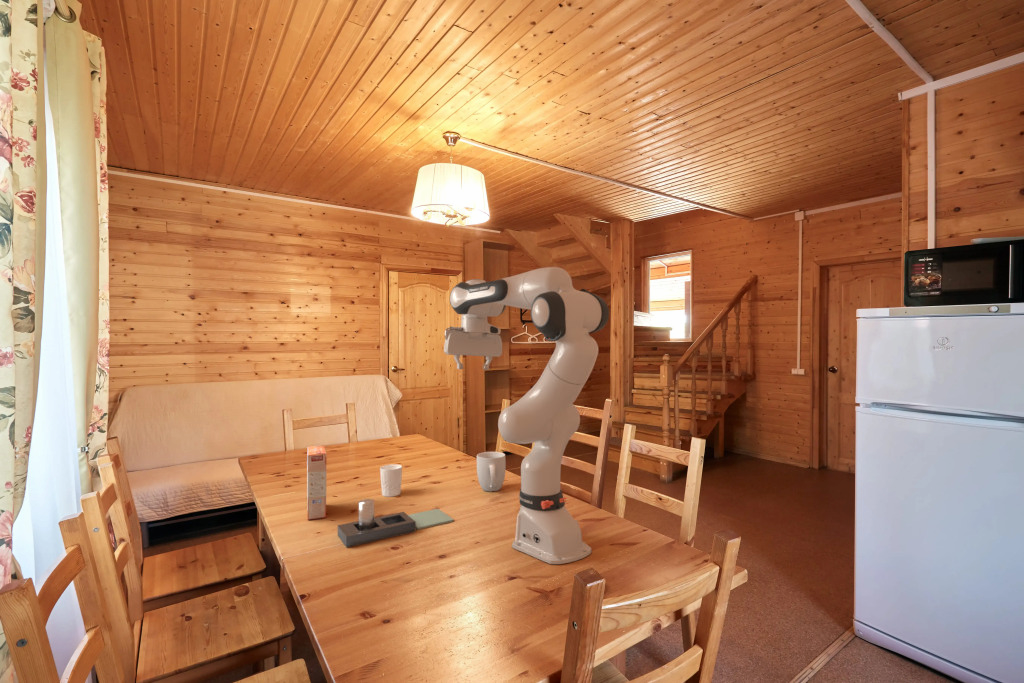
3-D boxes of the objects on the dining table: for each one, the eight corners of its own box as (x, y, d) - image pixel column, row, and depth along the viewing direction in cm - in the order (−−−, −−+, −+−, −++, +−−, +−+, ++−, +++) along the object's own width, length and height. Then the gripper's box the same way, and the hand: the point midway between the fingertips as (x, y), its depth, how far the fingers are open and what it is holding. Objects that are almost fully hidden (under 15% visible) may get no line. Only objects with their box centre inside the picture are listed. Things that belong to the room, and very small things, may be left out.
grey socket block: (415, 531, 145) (415, 521, 145) (346, 547, 134) (346, 536, 134) (403, 521, 153) (403, 511, 153) (337, 535, 142) (337, 525, 142)
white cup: (399, 497, 177) (399, 469, 177) (377, 497, 177) (377, 469, 177) (404, 490, 185) (404, 464, 185) (383, 490, 185) (383, 464, 185)
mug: (508, 496, 177) (508, 460, 177) (478, 497, 175) (478, 461, 175) (503, 484, 192) (503, 451, 192) (475, 485, 190) (475, 452, 190)
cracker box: (327, 518, 157) (326, 452, 157) (307, 520, 154) (306, 454, 154) (326, 504, 170) (325, 444, 170) (307, 507, 167) (306, 446, 167)
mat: (453, 521, 153) (453, 519, 153) (417, 529, 146) (417, 527, 146) (437, 510, 163) (437, 508, 163) (403, 517, 156) (403, 515, 156)
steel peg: (376, 536, 141) (376, 502, 141) (361, 540, 139) (360, 505, 139) (371, 531, 145) (371, 498, 145) (356, 535, 143) (356, 500, 143)
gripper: (448, 325, 157) (447, 368, 156) (504, 329, 167) (503, 370, 166) (441, 326, 162) (440, 368, 161) (496, 330, 172) (495, 370, 171)
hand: (473, 369), depth 163 cm, fingers open, 8 cm apart
